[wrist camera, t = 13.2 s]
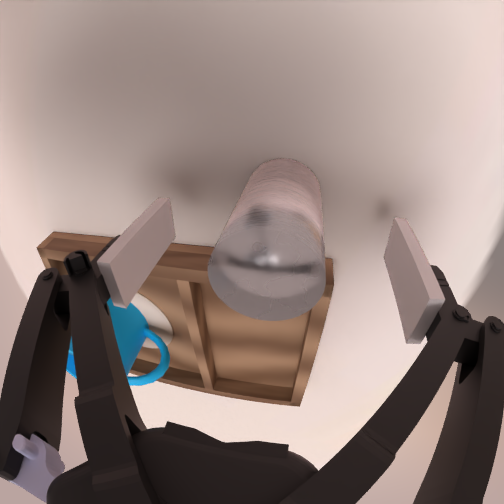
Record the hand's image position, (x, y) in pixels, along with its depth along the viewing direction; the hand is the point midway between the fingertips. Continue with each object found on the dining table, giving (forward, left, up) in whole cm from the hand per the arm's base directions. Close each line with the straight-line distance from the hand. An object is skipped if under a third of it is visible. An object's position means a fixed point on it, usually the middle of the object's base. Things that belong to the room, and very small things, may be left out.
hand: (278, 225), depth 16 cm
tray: (+15, -10, -4) cm, 18 cm away
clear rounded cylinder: (0, 0, -4) cm, 4 cm away
